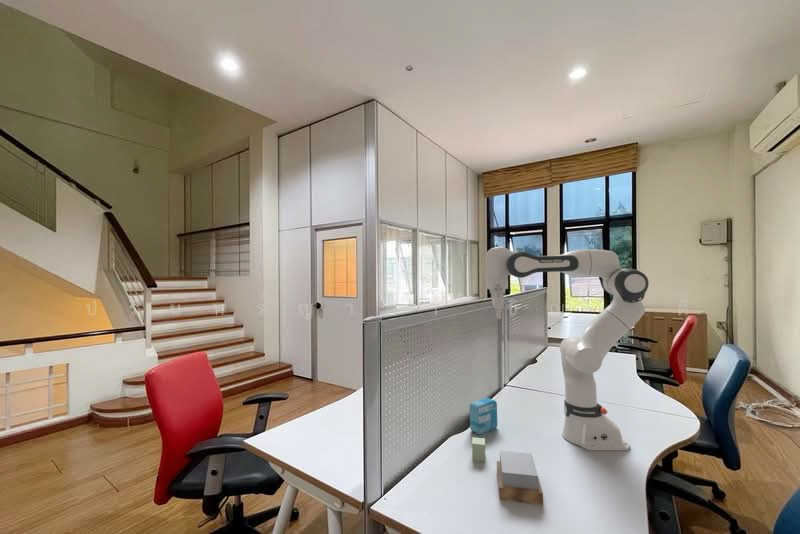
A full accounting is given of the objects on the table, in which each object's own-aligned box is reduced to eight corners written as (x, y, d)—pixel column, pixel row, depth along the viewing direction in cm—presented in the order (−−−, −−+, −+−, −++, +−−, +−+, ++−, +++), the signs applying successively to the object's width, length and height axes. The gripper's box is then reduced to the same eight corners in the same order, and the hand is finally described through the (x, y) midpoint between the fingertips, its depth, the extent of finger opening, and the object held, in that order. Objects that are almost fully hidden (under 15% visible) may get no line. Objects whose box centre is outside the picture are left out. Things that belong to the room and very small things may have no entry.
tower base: (535, 477, 106) (534, 464, 106) (543, 507, 93) (542, 493, 93) (497, 472, 109) (496, 460, 109) (499, 501, 96) (499, 487, 96)
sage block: (485, 455, 119) (484, 438, 119) (485, 461, 115) (485, 444, 115) (472, 453, 120) (472, 437, 120) (472, 460, 116) (472, 443, 116)
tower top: (532, 465, 106) (531, 453, 106) (538, 489, 94) (538, 476, 94) (500, 462, 108) (499, 450, 108) (502, 485, 96) (502, 472, 97)
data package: (477, 435, 133) (476, 406, 134) (469, 431, 137) (469, 402, 137) (497, 427, 140) (496, 399, 140) (489, 424, 143) (489, 396, 144)
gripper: (506, 285, 127) (508, 320, 127) (503, 283, 147) (504, 314, 147) (490, 285, 129) (491, 320, 128) (488, 284, 149) (489, 314, 148)
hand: (498, 317), depth 138 cm, fingers open, 8 cm apart
